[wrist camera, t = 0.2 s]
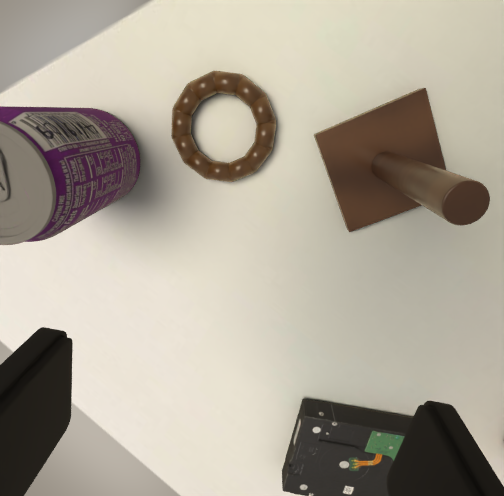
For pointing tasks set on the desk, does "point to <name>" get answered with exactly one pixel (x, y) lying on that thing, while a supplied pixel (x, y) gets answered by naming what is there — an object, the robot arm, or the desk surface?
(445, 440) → the robot arm
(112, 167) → the beverage can
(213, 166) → the ring
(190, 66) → the desk surface
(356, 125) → the peg post
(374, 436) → the disk drive
